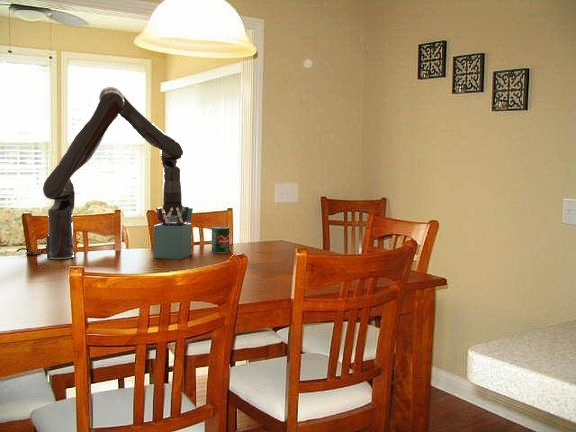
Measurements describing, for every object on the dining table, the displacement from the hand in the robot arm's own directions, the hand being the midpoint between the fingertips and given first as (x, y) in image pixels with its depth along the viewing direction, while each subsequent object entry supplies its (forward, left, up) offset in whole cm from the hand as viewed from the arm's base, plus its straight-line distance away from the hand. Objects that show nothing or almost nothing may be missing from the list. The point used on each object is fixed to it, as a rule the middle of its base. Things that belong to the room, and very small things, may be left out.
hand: (172, 231), depth 252 cm
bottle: (-1, 0, -9) cm, 9 cm away
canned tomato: (+16, +16, -11) cm, 25 cm away
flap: (0, +7, +7) cm, 10 cm away
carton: (0, 0, -11) cm, 11 cm away
